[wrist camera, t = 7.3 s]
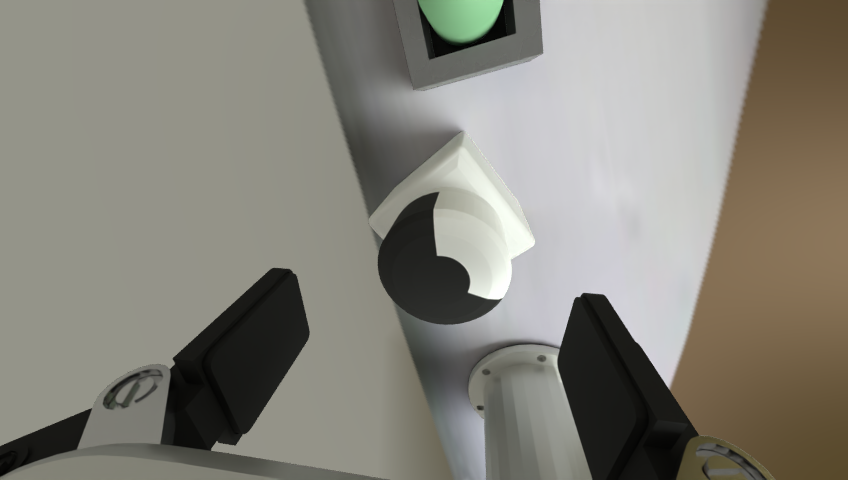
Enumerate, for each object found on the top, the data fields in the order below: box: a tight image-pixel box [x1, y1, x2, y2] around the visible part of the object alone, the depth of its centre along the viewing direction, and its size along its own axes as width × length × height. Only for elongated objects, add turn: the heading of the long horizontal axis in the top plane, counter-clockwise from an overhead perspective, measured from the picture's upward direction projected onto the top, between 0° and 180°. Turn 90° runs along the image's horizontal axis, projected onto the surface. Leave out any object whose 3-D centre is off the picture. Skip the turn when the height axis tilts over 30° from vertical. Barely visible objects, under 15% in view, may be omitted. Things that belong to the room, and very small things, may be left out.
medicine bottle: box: [369, 131, 535, 324], centre depth 18 cm, size 7×7×12 cm
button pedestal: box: [393, 0, 543, 91], centre depth 16 cm, size 7×7×4 cm
